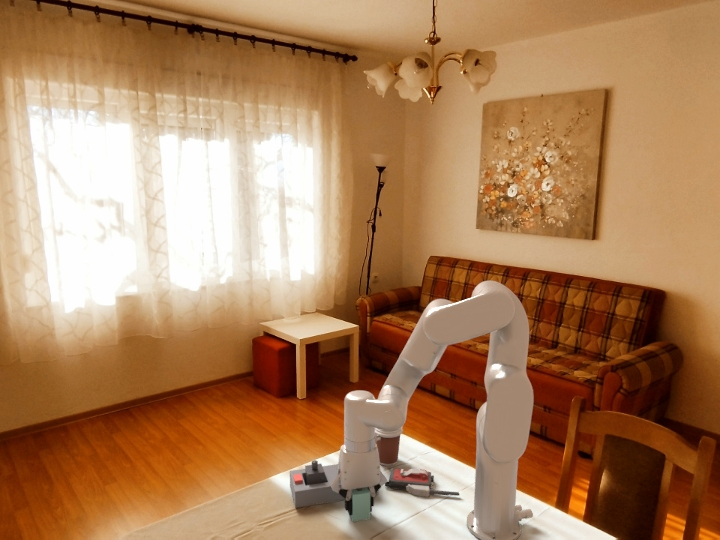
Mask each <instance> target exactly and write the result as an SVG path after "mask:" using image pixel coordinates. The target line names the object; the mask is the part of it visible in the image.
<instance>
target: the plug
mask: <svg viewBox="0 0 720 540" xmlns="http://www.w3.org/2000/svg"><path fill="white" fill-rule="evenodd" d="M351 499H352V515H349V516H350V518H351V520H352V522H353V523H355V522H360V521H367V520H371V512H370V491H369V489H368V487H363V488H357V489H353V490H352V494H351Z"/></svg>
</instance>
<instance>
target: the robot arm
mask: <svg viewBox="0 0 720 540" xmlns="http://www.w3.org/2000/svg"><path fill="white" fill-rule="evenodd" d="M487 334H489V335H490V336H489V347H488V354H487V360H486V361H487V362H486V367H485V373H484V377H483V378H484V379H483V380H484V387H485V391H486V401H485V402H484V403H483V404H482V405H481V406H480V408H479V410H478V412H477V415H476V422H475V423H476V425H475V426H476V455H475V475H474V497H473V498H474V500H473V510H471V511H470V512H469V513H468V515H467V516H466V526H467V528H468V530H469V532H470V533H471V534H472V535H473V536H475V538H478V539H479V540H518V538H519V539H520V537H521V532H522V527H521V524H520V522H521V521H522V520H523V519H530V518H533V517H534V513H533V511H532V509H531V508H527V509H523V508H522V506H521V504H517V505H516V502H517V500H516V498H517V484H518V483H517V481H518V468H519V459H520V458H521V457H522V456H523V454H524V453H525V451H526V449H527V447H528V446H527V445H528V441H529V436H530V429H531V424H532V423H531V422H532V416H533V409H534V388H533V386H532V383H531V381H530V379H529V377H528V373H527V365H528V363H527V362H528V357H529V356H528V355H529V353H528V352H529V343H530V324H529V319H528V315H527V313H526V310H525V308H524V305H523V304H522V302H521V301H520V299H519V297H518V296H517V295H516V294H515V293H514V292H513V291H512V290H511V289H510V288H508V286H506V285H505V284H503V283H501V282H498V281H495V280H485V281H482V282H480V283H478V284H477V285H476V286H475V287H474V289H473V290H472V292H471V297H469V298H466V299H463V300H461V301H457V302H453V301H451V300H448V299H446V298H437V299H434V300H432V301H431V302H429V303H428V305H426V308H424V310H423V312H422V314H421V315H420V318H419V319H418V321H417V323H416V325H415V327H414V329H413V330H412V333H411V334H410V337H409V338H408V340H407V342H406V344H405V345H404V348H403V350H401V353H400V354H399V357H398V359H397V361H396V362H395V364H394V365H393V368H392V369H391V371H390V373H389V374H388V377H387V378H386V380H385V382H384V384H383V385H382V388H381V390H380V391H379V393H378V397H377V399H376V398H375V395H374V394H373V393H371V392H370V391H367V390H360V389H359V390H357V389H356V390H352V391H350V392H348V393H346V395H345V397H344V398H343V399H344V400H343V405H344V407H343V409H344V410H343V413H344V414H343V415H344V416H343V417H344V419H343V429H344V430H343V433H344V434H343V438H344V439H343V444H341V446H340V449H339V454H338V463H337V464H338V476H337V478H336V479H335V481H334V482H333V484H332V485H331V488H332V490H333V491H335V492H337V493H339V494H340V495H341V496H342V497H344V498H345V500H344V509H345V511H347V512H348V515H349V516H350V515H352V499H351V494H352V490H353V489H357V488H363V487H368V489H369V491H370V513H373V507H374V506H375V496H377V495H376V492H377V491H379V490H380V489H381V488H382V487H383V486H385V483H386V482H388V479H387V477H386V476H385V474H384V473H383V472H382V471H381V465H380V460H379V453H378V448H377V445H376V441H378V440H380V439H381V438H380V435H375V428H378V429H381V430H385V431H396V430H399V429H400V428H403V426H404V425H405V423H406V420H407V414H408V413H407V412H408V405H409V401H410V399H411V398H412V395H413V394H414V392H415V390H416V389H417V387H418V385H419V383H420V382H421V381H422V379H423V377H424V376H427V375H428V374H430V373H432V372H433V371H434V370H435V369H436V367H437V365H438V363H439V362H440V360H441V358H442V357H443V354H444V353H445V351H446V349H447V347H448V346H452V345H455V344H458V343H462V342H465V341H468V340H472V339H475V338H478V337H481V336H485V335H487ZM340 484H341V487H339V485H340Z"/></svg>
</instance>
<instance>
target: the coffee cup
mask: <svg viewBox="0 0 720 540" xmlns="http://www.w3.org/2000/svg"><path fill="white" fill-rule="evenodd" d="M403 432H404V429H403V427H402V428H400V429H399V430H396V431H385V430H381V429H378V428H375V435H380V438H381V439H380V440H378V441H376V445H377V448H378V453H379V460H380V464H381V465H380V466H383V465H384V466H383V467H391V466H394V465H396V464H398V460H399V450H400V442H401V441H400V440H401V435H402V434H403Z"/></svg>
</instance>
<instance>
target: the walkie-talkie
mask: <svg viewBox="0 0 720 540" xmlns="http://www.w3.org/2000/svg"><path fill="white" fill-rule="evenodd" d="M434 481H435V476H434V475H432V471H431V472H430V471H427V469H421V468H420V469H419V468H410V469H404V468H391V469H390V471H389V479H388V481H387V482H386V483H385V484H384V486H385V487H387V488H389V489H391V490H392V489H393V490H403V491H406V492H408V493H410V494H412V495H413V496H419V497H425V498H429V497H430V495H432V496H434V495H439V496H460V493H459V492H458V491H449V490H448V491H447V490H438V489H437V490H436V489H434V487H432V486H434V483H435V482H434Z"/></svg>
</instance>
